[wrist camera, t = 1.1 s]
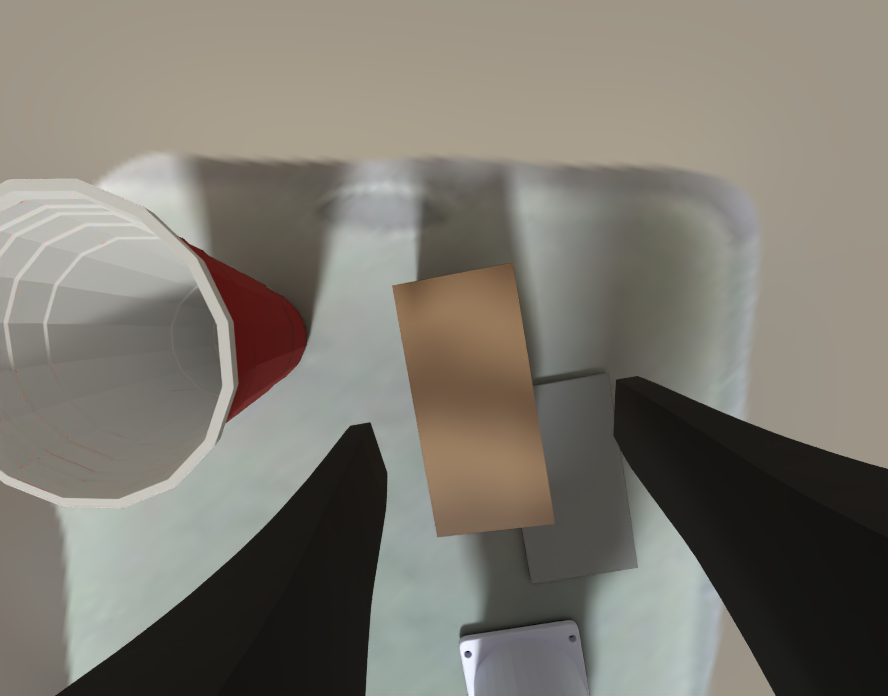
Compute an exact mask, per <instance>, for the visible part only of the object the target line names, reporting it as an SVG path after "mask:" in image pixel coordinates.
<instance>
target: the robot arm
mask: <svg viewBox="0 0 888 696" xmlns="http://www.w3.org/2000/svg"><path fill="white" fill-rule="evenodd" d="M613 436H614V438H615V440H616V442H617V444H618V446H619V447H620V449H621V451H622V453H623V455H624V456H625V458H626V460H627V462H628V463H629V465H630V467H631V468H632V470H633V471H634V473H635V474H636V475H637V477H638V478H639V480H640V481H641V482H642V484H643V485H644V486H645V488H646V489H647V491H648V492H649V493H650V495H651V496H652V497H653V499H654V500H655V501H656V503H657V504H658V505H659V507H660V508H661V510H662V511H663V512H664V514H665V515H666V516H667V518H668V519H669V520H670V522H671V523H672V524H673V526H674V527H675V529H676V530H677V531H678V533H679V534H680V535H681V537H682V538H683V539H684V541H685V542H686V544H687V545H688V547H689V548H690V550H691V551H692V552H693V554H694V555H695V557H696V558H697V560H698V562H699V563H700V565H701V567H702V568H703V570H704V571H705V573H706V575H707V576H708V578H709V580H710V581H711V583H712V585H713V586H714V588H715V590H716V591H717V593H718V594H719V596H720V598H721V599H722V601H723V603H724V605H725V606H726V608H727V610H728V611H729V613H730V615H731V616H732V618H733V620H734V622H735V623H736V625H737V627H738V629H739V630H740V632H741V634H742V636H743V637H744V639H745V641H746V643H747V644H748V646H749V648H750V649H751V651H752V653H753V655H754V657H755V659H756V661H757V662H758V664H759V666H760V668H761V669H762V671H763V673H764V675H765V677H766V679H767V681H768V682H769V684H770V686H771V688H772V690H773V692H774V693H775V695H776V696H888V469H886V468H883V467H879V466H875V465H871V464H868V463H864V462H861V461H858V460H854V459H851V458H848V457H844V456H841V455H838V454H835V453H832V452H829V451H826V450H823V449H820V448H817V447H813V446H811V445H808V444H804V443H802V442H798V441H795V440H793V439H790V438H787V437H784V436H781V435H779V434H776V433H773V432H771V431H768V430H765V429H763V428H760V427H758V426H755V425H752V424H750V423H747V422H745V421H742V420H740V419H737V418H735V417H732V416H730V415H727V414H725V413H723V412H720V411H718V410H715V409H713V408H711V407H709V406H706V405H704V404H702V403H699V402H697V401H695V400H692V399H690V398H688V397H686V396H683V395H681V394H679V393H677V392H674V391H672V390H670V389H668V388H665V387H663V386H661V385H658V384H656V383H654V382H651V381H649V380H646V379H644V378H641V377H638V376H635V377H630V378H624V379H618V380H616V391H615V410H614V430H613ZM386 502H387V471H386V468H385V465H384V462H383V459H382V456H381V453H380V450H379V447H378V444H377V441H376V438H375V435H374V432H373V429H372V426H371V423H370V422H369V423H364V424H358V425H352V426H350V427H349V428H348V429H347V430H346V431H345V433H344V434H343V435H342V437H341V438H340V439H339V440H338V442H337V443H336V444H335V445H334V447H333V448H332V449H331V451H330V452H329V453H328V454H327V456H326V457H325V458H324V459H323V461H322V462H321V463H320V464H319V466H318V467H317V468H316V469H315V471H314V472H313V473H312V474H311V475H310V477H309V478H308V479H307V480H306V481H305V483H304V484H303V485H302V486H301V487H300V488H299V489H298V491H297V492H296V493H295V494H294V495H293V496H292V497H291V498H290V500H289V501H288V502H287V503H286V504H285V505H284V506H283V508H282V509H281V510H280V511H279V512H278V513H277V514H276V515H275V516H274V517H273V518H272V519H271V520H270V521H269V522H268V523H267V524H266V526H265V527H264V528H263V529H262V530H261V531H260V532H258V533H257V534H256V535H255V536H254V537H253V538H252V539H251V540H250V541H249V542H248V543H247V544H246V545H245V546H244V547H243V548H242V549H241V550H240V551H239V552H238V553H237V554H236V555H234V556H233V557H232V558H231V559H230V560H229V561H228V562H227V563H225V564H224V565H223V566H222V567H221V568H220V569H219V570H217V571H216V572H215V573H214V574H213V575H212V576H211V577H209V578H208V579H207V580H206V581H205V582H204V583H203V584H201V585H200V586H199V587H198V588H197V589H196V590H195V591H193V592H192V593H191V594H190V595H189V596H187V597H186V598H185V599H184V600H183V601H181V602H180V603H179V604H178V605H176V606H175V607H174V608H173V609H171V610H170V611H169V612H168V613H166V614H165V615H164V616H163V617H161V618H160V619H159V620H158V621H156V622H155V623H154V624H152V625H151V626H150V627H149V628H147V629H146V630H145V631H143V632H142V633H141V634H140V635H138V636H137V637H136V638H134V639H133V640H132V641H130V642H129V643H128V644H126V645H125V646H124V647H122V648H121V649H120V650H118V651H117V652H116V653H114V654H113V655H111V656H110V657H109V658H107V659H106V660H104V661H103V662H102V663H100V664H99V665H97V666H96V667H95V668H93V669H92V670H91V671H89V672H88V673H86V674H85V675H84V676H82V677H81V678H79V679H78V680H77V681H75V682H74V683H72V684H71V685H70V686H68V687H67V688H65V689H64V690H63V691H61V692H60V693H58V694H57V695H56V696H365V693H366V675H367V657H368V642H369V628H370V614H371V604H372V595H373V588H374V581H375V575H376V569H377V563H378V557H379V550H380V544H381V538H382V532H383V525H384V519H385V512H386ZM571 635H574V636H573V637H569V636H571ZM459 649H460V654H461V659H462V665H463V670H464V675H465V681H466V686H467V691H468V696H590V695H589V689H588V683H587V677H586V671H585V665H584V659H583V653H582V647H581V641H580V635H579V630H578V627H577V625H576V623H575V622H574V621H572V620H566V621H559V622H553V623H546V624H540V625H533V626H526V627H520V628H513V629H507V630H500V631H493V632H487V633H480V634H474V635H467V636H463V637H462V638H461V639H460V641H459ZM465 651H470V652H469V653H468V652H465Z"/></svg>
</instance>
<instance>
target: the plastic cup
mask: <svg viewBox="0 0 888 696" xmlns="http://www.w3.org/2000/svg"><path fill="white" fill-rule="evenodd" d="M305 347H306V327H305V325H304V323H303V320H302V318H301V316H300V313H299V312H298V311H297V310H296V309H295V308H294V307H293V306H292V305H291V304H290V303H289V302H288V301H287V300H286V299H285V298H284V297H283V296H281V295H279V294H277V293H275V292H273V291H271V290H269V289H268V288H267V287H266V286H265V285H264V284H262V283H260V282H258V281H256V280H254V279H252V278H250V277H248V276H247V275H245V274H243V273H241V272H239V271H237V270H235V269H233V268H231V267H229V266H227V265H225V264H224V263H222V262H220V261H218V260H216V259H214V258H212V257H210V256H208V255H207V254H206V253H205V252H204V251H203V250H201V249H199V248H197V247H195V246H192V245H190V244H189V243H188V242H187V241H186V240H185V239H183V238H181V237H179V236H177V235H176V234H175V233H174V232H173V231H172V230H171V229H170V228H169V227H168V226H167V225H166V224H165V223H164V222H163V221H161V220H160V219H159V218H158V217H157V216H156V215H155V214H154V213H152V212H151V211H149V210H148V209H146V208H145V207H143V206H141V205H138V204H136V203H133V202H131V201H129V200H126V199H124V198H121V197H119V196H117V195H114V194H112V193H109V192H107V191H105V190H102V189H100V188H97V187H95V186H93V185H90V184H88V183H86V182H83V181H81V180H78V179H10V180H7V181H5V182H3V183H1V184H0V480H1V481H2V482H3V483H5V484H7V485H10V486H12V487H14V488H17V489H19V490H22V491H24V492H27V493H29V494H32V495H35V496H37V497H40V498H42V499H45V500H47V501H50V502H52V503H55V504H57V505H60V506H62V507H92V508H124V507H127V506H129V505H132V504H134V503H137V502H139V501H142V500H144V499H147V498H149V497H152V496H155V495H157V494H160V493H162V492H165V491H167V490H170V489H172V488H175V487H176V486H177V485H178V484H179V483H180V482H181V481H182V480H183V479H184V478H185V477H186V475H187V474H188V473H189V472H190V471H191V470H192V469H193V468H194V467H195V466H196V465H197V464H198V463H199V462H200V461H201V460H202V459H203V458H204V456H205V455H206V454H207V453H208V452H209V451H210V450H211V449H212V448H213V447H214V446H215V445H216V443H217V442H218V441H219V440H220V438H221V435H222V432H223V429H224V426H225V423H227V422H228V421H229V420H231V419H232V418H233V417H235V416H236V415H237V414H238V413H240V412H241V411H242V410H244V409H245V408H246V407H248V406H249V405H250V404H252V403H253V402H254V401H256V400H257V399H258V398H260V397H261V396H262V395H263V394H265V393H266V392H267V391H269V390H270V389H271V387H272V386H273V385H274V384H276V383H277V382H279V381H280V380H282V379H283V378H285V377H286V376H287V375H288V374H289V373H290V372H291V371H292V370H293V369H294V368H295V367H296V366H297V365H298V363H299V362H300V360H301V358H302V355H303V352H304V350H305Z"/></svg>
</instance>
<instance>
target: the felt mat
mask: <svg viewBox="0 0 888 696" xmlns="http://www.w3.org/2000/svg"><path fill="white" fill-rule="evenodd" d="M533 390H534V397H535V403H536V409H537V415H538V421H539V427H540V433H541V440H542V446H543V452H544V458H545V464H546V470H547V477H548V483H549V489H550V495H551V501H552V507H553V513H554V520H555V524H550V525H541V526H532V527H523V528H522V533H523V539H524V544H525V550H526V556H527V562H528V568H529V573H530V579H531V583H532V584H536V583H543V582H549V581H555V580H562V579H568V578H575V577H581V576H588V575H594V574H601V573H607V572H613V571H620V570H626V569H633V568H638V565H637V558H636V552H635V545H634V539H633V532H632V526H631V519H630V512H629V506H628V499H627V493H626V486H625V480H624V473H623V467H622V460H621V454H620V447H619V446H618V444H617V442H616V440H615V438H614V436H613V430H614V408H613V402H612V395H611V389H610V382H609V376H608V373H601V374H595V375H590V376H584V377H578V378H572V379H567V380H561V381H555V382H549V383H544V384H538V385H533Z"/></svg>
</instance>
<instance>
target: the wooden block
mask: <svg viewBox="0 0 888 696" xmlns="http://www.w3.org/2000/svg"><path fill="white" fill-rule="evenodd" d="M392 287H393V293H394V298H395V304H396V309H397V315H398V320H399V326H400V331H401V337H402V343H403V348H404V354H405V359H406V365H407V370H408V376H409V382H410V387H411V393H412V398H413V404H414V409H415V415H416V420H417V426H418V432H419V437H420V443H421V448H422V454H423V459H424V465H425V471H426V476H427V482H428V487H429V493H430V498H431V504H432V509H433V515H434V521H435V526H436V532H437V537H444V536H453V535H462V534H471V533H479V532H488V531H497V530H506V529H514V528H523V527H532V526H541V525H550V524H555V520H554V513H553V507H552V501H551V495H550V489H549V483H548V477H547V470H546V464H545V458H544V452H543V446H542V440H541V433H540V427H539V421H538V415H537V409H536V403H535V397H534V390H533V384H532V378H531V372H530V366H529V360H528V353H527V347H526V341H525V335H524V329H523V323H522V316H521V310H520V304H519V298H518V292H517V286H516V280H515V273H514V267H513V263H509V264H503V265H498V266H493V267H488V268H482V269H477V270H472V271H467V272H461V273H456V274H451V275H446V276H440V277H435V278H430V279H425V280H419V281H414V282H409V283H404V284H398V285H393V286H392Z"/></svg>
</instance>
